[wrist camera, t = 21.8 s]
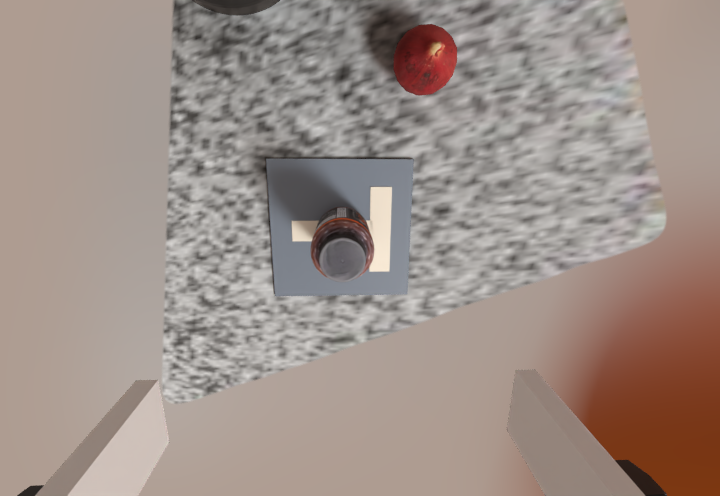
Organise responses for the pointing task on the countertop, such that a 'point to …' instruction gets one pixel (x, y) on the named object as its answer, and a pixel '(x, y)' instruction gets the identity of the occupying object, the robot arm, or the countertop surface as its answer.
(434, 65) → the onion
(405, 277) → the letter card
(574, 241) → the countertop surface
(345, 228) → the supplement bottle
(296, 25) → the countertop surface
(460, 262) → the countertop surface
